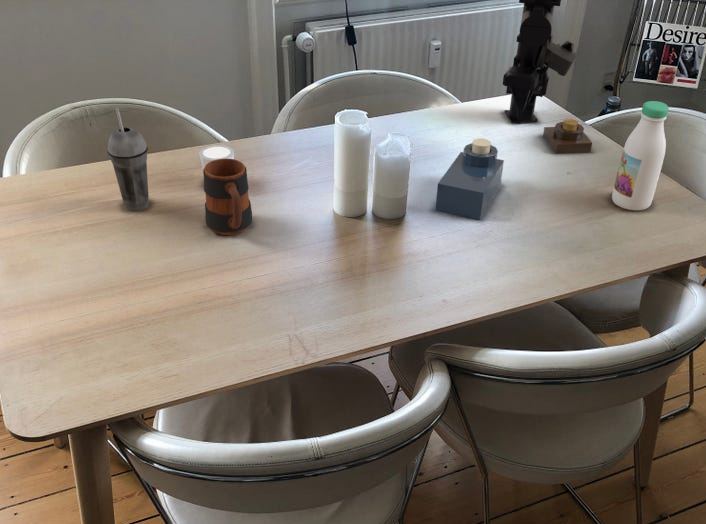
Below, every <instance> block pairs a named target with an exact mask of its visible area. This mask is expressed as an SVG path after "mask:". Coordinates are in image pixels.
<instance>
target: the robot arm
mask: <svg viewBox="0 0 706 524" xmlns="http://www.w3.org/2000/svg"><path fill="white" fill-rule="evenodd" d="M561 2H562V0H519V1H518V4H523V8H522V15H521V19H520V26H519V33H518V34H517V36H516V43H517V48H516V54H515V56H514V57H513V62H512V63H513V64H512V66H509V67H508V69H507V70H506V71H505V73H504V74H503V77H502V85H503V86H504V87H506V90H505V91H506V92H505V95H509V94H510V95H511V96H510V103H509V109H505V110H503V113H504V115H505V116H506V118H507V120H509V122H510V123H511V124H525V123H538V122H539V119H538V118H537V116H536V115H535V108H536V101H537V97H540V98H543V96H545V95H547V89H548V84H549V79H550V76H549V75H548V70H549V69H551V70H552V71H554V72H556V73H557V74H558V75H559V76H562V77H565V76H566V75H567V73H568V72H569V70H570V69H571V67H572V65H573V64H574V62H575V60H576V58H577V53H576V52H574V49H575V48H574V47H575V44H574V42H572V41H570V40H566V41H565V42H563V43H562V44H560V43H557V44H556V43H554V42H553V35H552V29H553V16H554V9H555V7H561V4H562V3H561Z"/></svg>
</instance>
